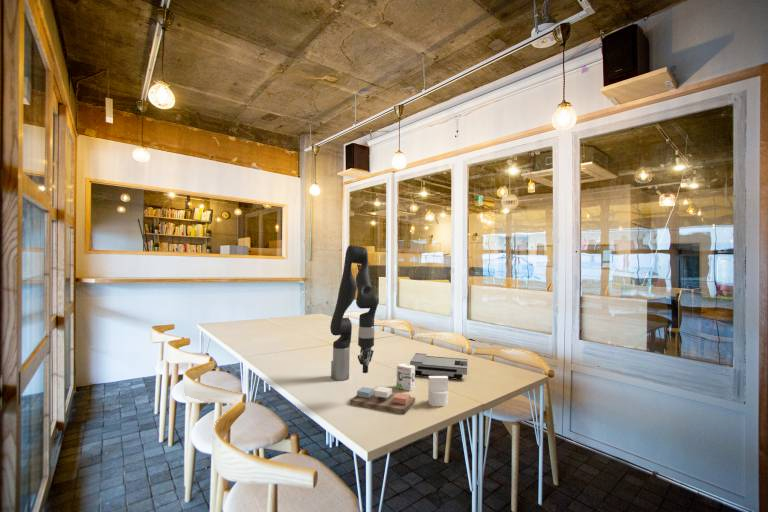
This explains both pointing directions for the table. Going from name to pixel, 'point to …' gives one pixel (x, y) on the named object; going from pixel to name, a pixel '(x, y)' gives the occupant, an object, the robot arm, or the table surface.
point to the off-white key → (383, 392)
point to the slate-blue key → (365, 392)
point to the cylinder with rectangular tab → (438, 390)
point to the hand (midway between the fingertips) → (365, 372)
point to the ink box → (405, 377)
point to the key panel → (383, 403)
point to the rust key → (401, 398)
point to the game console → (439, 366)
